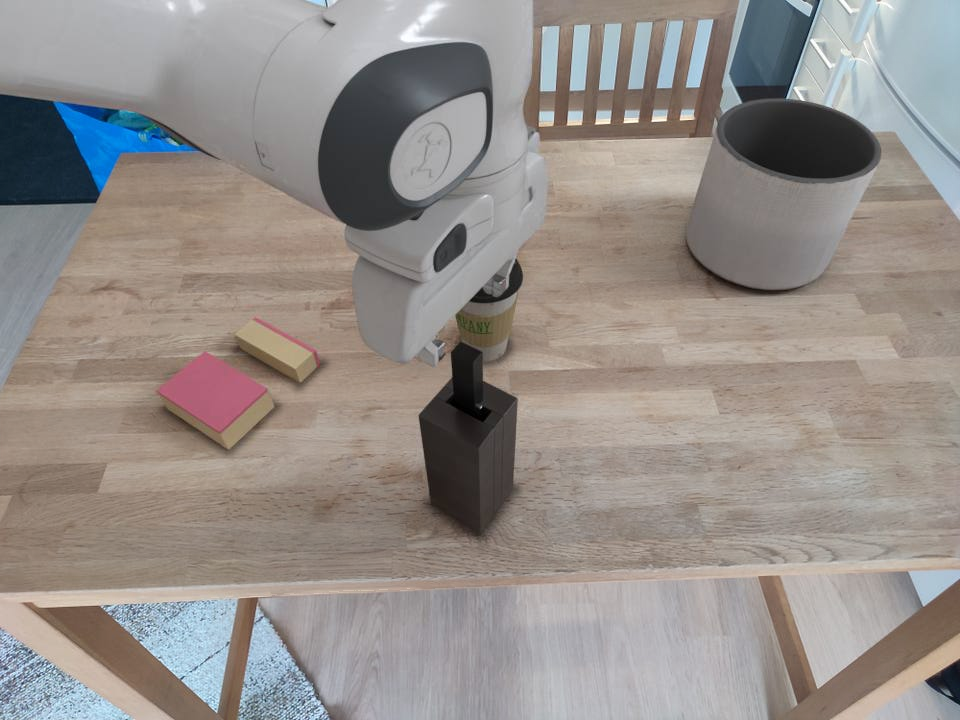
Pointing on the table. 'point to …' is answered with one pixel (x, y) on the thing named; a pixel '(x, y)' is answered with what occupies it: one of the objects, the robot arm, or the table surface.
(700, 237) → the planter
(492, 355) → the coffee cup
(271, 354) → the cake slice
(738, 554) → the table surface
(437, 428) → the knife block
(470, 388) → the knife
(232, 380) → the cake
